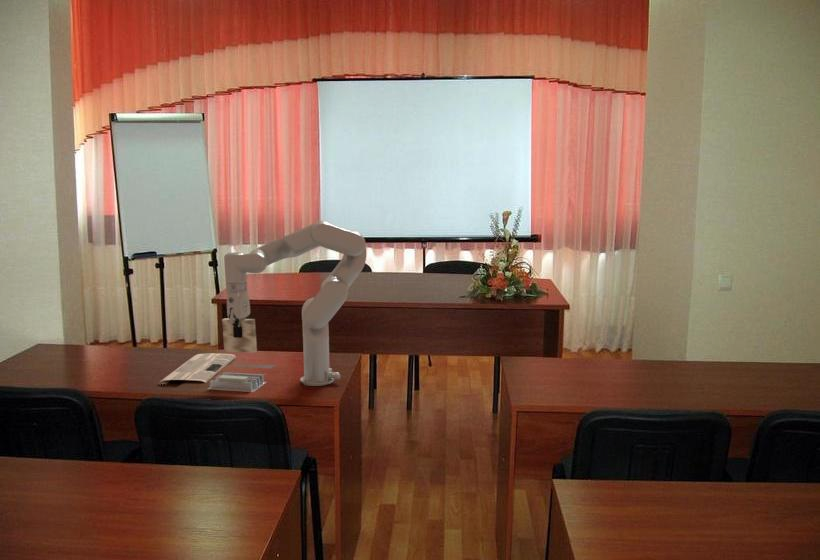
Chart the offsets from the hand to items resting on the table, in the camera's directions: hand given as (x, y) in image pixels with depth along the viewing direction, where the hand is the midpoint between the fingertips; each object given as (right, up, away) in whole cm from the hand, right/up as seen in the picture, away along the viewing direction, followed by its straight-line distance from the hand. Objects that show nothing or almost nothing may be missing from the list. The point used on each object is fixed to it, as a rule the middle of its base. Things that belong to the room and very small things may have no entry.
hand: (239, 336), depth 274 cm
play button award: (-1, -17, +17) cm, 24 cm away
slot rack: (-1, -19, 0) cm, 19 cm away
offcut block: (-1, -18, -3) cm, 19 cm away
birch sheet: (0, -6, +1) cm, 6 cm away
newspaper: (-22, -16, +22) cm, 35 cm away
